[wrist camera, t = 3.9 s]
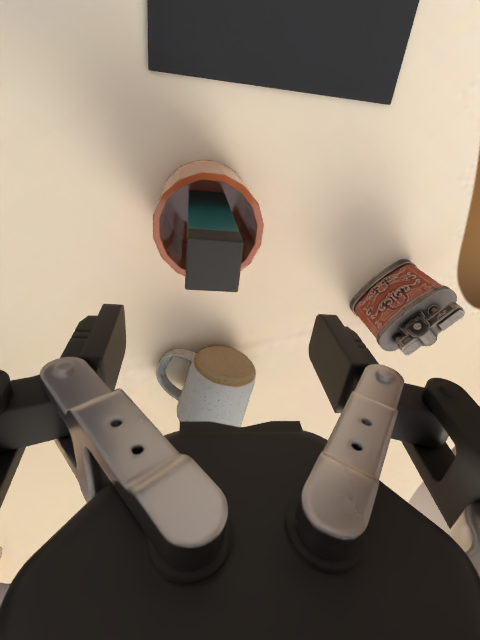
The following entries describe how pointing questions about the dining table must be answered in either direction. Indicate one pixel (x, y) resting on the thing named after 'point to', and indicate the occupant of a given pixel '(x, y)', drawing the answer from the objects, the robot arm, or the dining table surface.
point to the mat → (285, 43)
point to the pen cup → (174, 210)
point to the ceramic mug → (211, 385)
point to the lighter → (405, 307)
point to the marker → (212, 244)
